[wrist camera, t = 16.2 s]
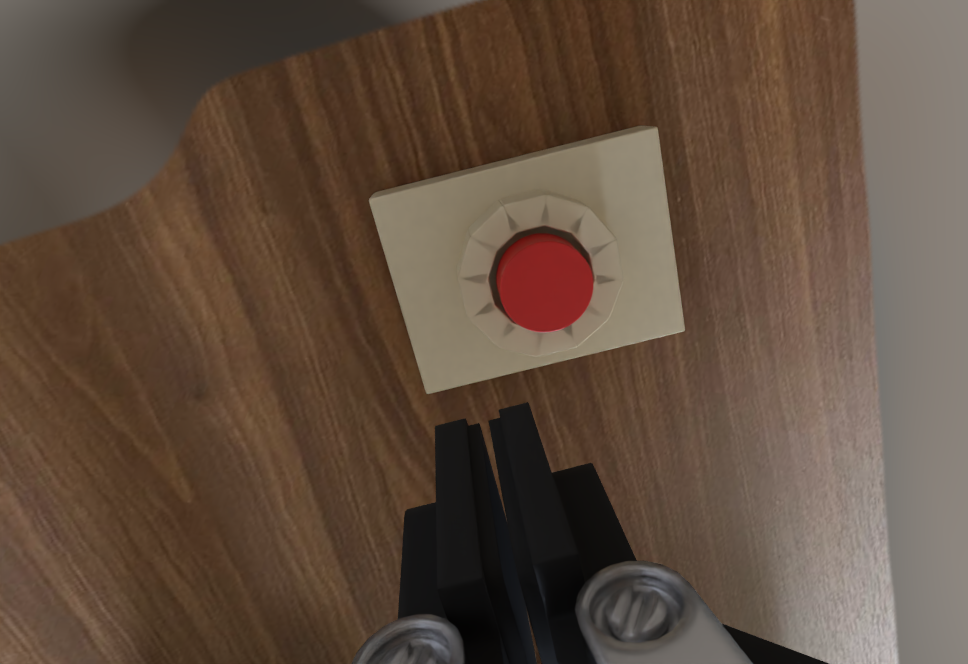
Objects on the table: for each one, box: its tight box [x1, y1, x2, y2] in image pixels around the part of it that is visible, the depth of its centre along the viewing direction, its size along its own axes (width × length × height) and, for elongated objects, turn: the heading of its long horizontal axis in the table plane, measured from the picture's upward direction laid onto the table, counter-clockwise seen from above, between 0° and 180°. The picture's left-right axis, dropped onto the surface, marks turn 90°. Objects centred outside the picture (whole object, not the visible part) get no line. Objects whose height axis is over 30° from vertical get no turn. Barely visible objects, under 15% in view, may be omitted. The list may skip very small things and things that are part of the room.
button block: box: [369, 126, 685, 394], centre depth 27 cm, size 12×9×4 cm
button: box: [496, 233, 594, 333], centre depth 25 cm, size 4×4×2 cm
